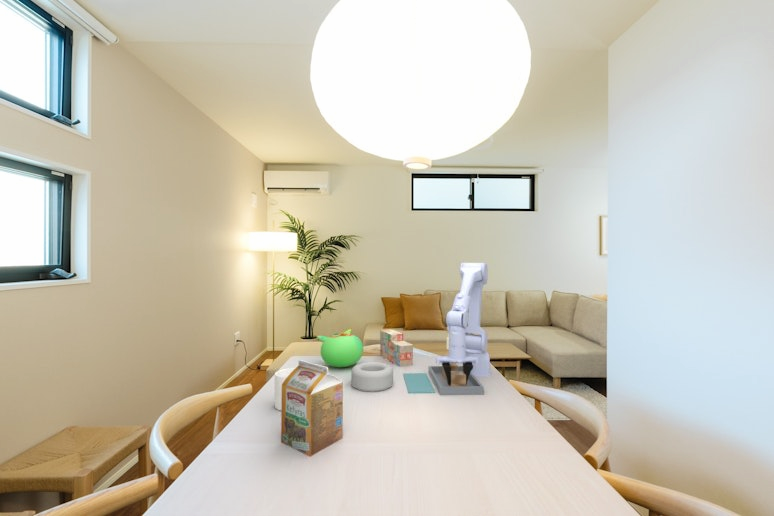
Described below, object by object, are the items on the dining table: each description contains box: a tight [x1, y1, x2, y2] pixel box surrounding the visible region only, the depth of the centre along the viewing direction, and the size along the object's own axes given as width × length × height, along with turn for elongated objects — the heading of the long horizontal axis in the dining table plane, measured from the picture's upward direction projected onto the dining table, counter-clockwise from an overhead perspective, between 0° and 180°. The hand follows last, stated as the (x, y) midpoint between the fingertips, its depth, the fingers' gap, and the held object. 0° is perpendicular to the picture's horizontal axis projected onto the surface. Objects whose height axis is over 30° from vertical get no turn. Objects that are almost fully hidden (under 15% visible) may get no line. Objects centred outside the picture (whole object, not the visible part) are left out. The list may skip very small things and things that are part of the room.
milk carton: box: [280, 359, 344, 457], centre depth 88 cm, size 11×11×19 cm
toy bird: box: [316, 328, 364, 368], centre depth 150 cm, size 18×17×15 cm
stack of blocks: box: [379, 328, 414, 368], centre depth 159 cm, size 21×6×12 cm, turn 24°
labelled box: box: [449, 371, 466, 386], centre depth 124 cm, size 5×5×5 cm
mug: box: [274, 367, 295, 412], centre depth 107 cm, size 12×8×10 cm
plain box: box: [441, 363, 459, 379], centre depth 135 cm, size 5×5×5 cm
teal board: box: [402, 372, 436, 394], centre depth 128 cm, size 9×20×1 cm, turn 3°
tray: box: [428, 365, 485, 396], centre depth 129 cm, size 15×24×3 cm, turn 2°
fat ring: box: [350, 361, 394, 393], centre depth 128 cm, size 15×15×7 cm
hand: (456, 383), depth 124 cm, fingers closed on labelled box, 5 cm apart
